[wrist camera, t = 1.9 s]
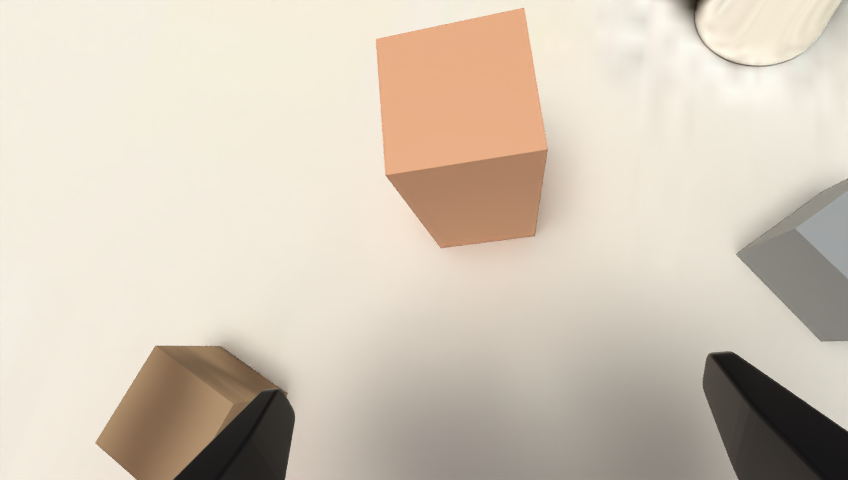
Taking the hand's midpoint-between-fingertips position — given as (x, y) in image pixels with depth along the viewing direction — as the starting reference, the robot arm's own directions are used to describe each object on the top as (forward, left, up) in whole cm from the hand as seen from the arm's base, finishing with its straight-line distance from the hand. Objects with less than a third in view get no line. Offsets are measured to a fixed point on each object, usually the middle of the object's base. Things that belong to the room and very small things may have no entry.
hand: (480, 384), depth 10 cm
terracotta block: (+7, -6, -14) cm, 16 cm away
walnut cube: (+9, +12, -14) cm, 21 cm away
